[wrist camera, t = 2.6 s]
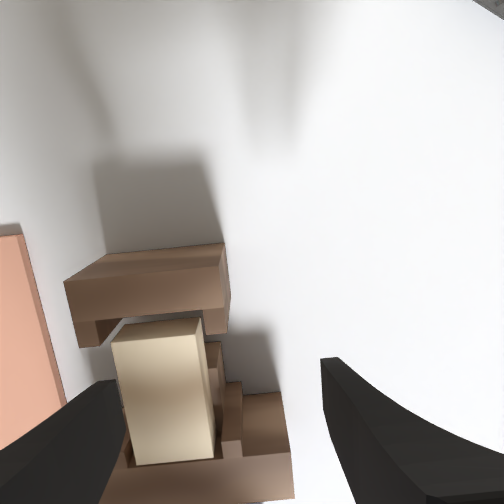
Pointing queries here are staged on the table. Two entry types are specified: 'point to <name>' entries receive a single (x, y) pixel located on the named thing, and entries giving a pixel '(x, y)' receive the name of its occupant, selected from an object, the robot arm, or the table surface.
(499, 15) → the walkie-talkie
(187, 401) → the slab
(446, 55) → the table surface
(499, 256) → the table surface
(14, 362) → the mat
